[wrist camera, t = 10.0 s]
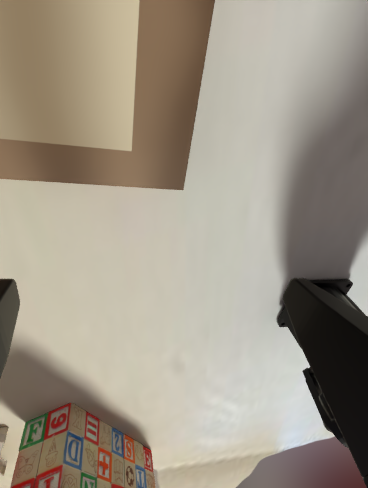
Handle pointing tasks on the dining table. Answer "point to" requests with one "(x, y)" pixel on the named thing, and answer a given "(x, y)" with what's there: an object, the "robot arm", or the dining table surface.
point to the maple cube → (68, 71)
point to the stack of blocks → (79, 454)
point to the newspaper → (0, 440)
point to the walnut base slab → (137, 110)
